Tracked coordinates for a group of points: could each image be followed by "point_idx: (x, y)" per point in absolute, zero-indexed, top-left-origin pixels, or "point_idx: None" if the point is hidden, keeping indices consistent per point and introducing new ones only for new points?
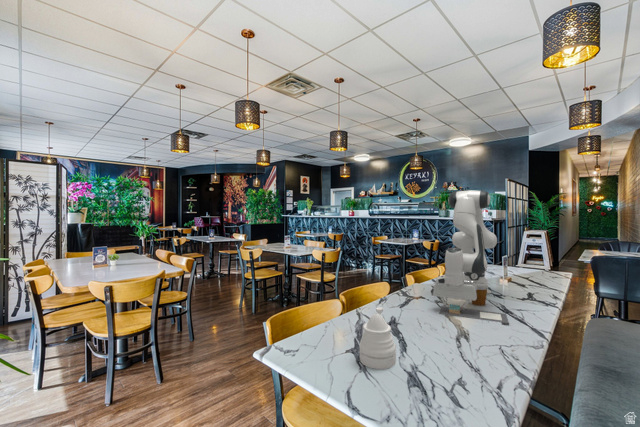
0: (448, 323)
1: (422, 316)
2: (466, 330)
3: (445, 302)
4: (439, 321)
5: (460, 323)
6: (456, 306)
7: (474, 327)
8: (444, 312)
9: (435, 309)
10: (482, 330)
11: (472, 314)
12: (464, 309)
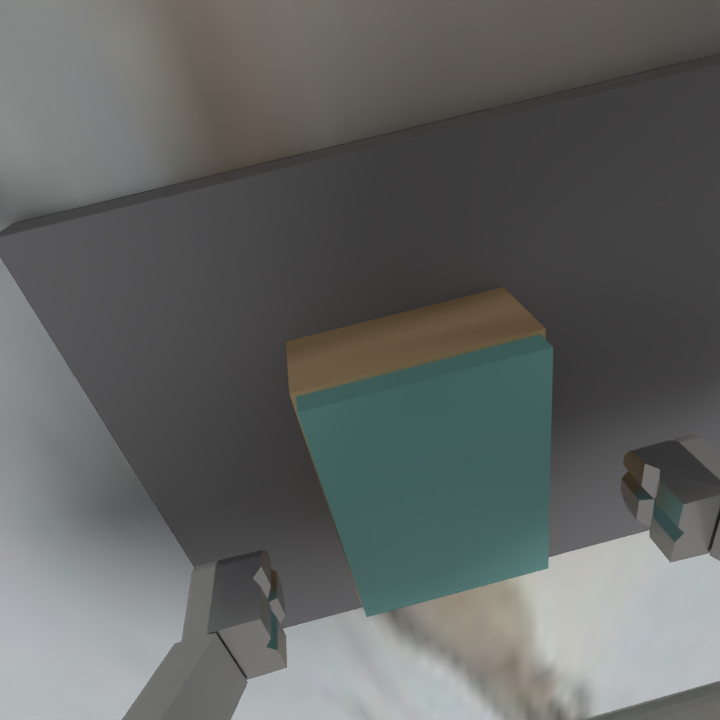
0: (415, 686)
1: (93, 716)
2: (575, 696)
3: (262, 660)
4: (322, 701)
5: (522, 630)
6: (478, 472)
7: (646, 626)
8: (283, 561)
9: (9, 420)
10: (702, 634)
11: (704, 385)
12: (587, 172)
